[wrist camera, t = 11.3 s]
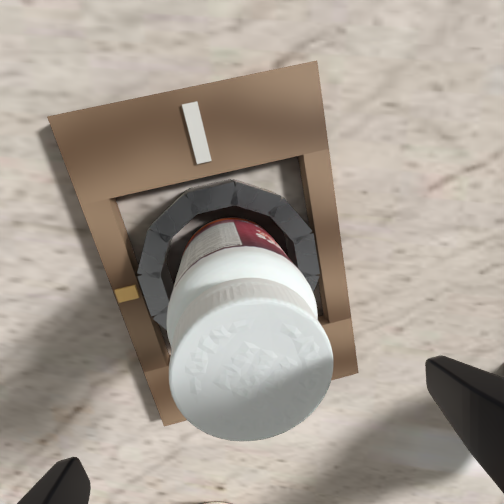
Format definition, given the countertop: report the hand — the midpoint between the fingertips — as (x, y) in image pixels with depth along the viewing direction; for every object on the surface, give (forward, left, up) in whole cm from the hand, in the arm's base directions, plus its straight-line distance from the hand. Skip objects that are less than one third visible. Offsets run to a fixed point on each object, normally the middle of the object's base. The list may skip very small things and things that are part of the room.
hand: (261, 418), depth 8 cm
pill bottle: (0, 0, -13) cm, 13 cm away
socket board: (0, 0, -13) cm, 13 cm away
